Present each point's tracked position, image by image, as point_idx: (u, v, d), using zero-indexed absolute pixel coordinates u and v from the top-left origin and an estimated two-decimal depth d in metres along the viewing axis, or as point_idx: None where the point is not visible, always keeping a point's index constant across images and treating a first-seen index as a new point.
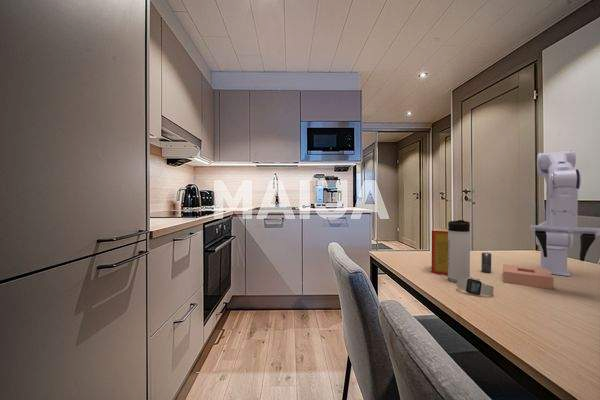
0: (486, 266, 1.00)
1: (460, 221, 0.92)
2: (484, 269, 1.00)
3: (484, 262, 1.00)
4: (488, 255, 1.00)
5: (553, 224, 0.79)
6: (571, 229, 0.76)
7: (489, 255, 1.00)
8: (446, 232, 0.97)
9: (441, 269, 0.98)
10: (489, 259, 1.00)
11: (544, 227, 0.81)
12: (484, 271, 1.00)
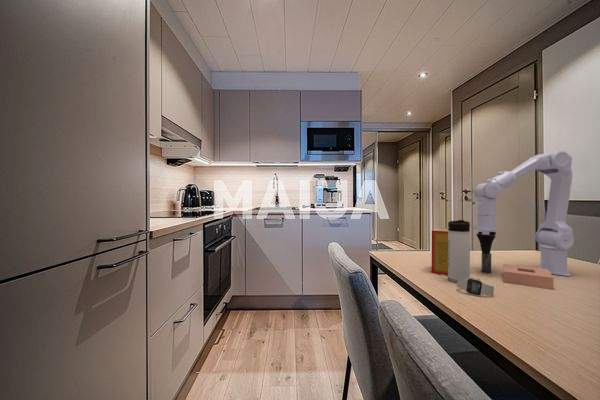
0: (486, 266, 1.00)
1: (460, 221, 0.92)
2: (484, 269, 1.00)
3: (484, 262, 1.00)
4: (488, 255, 1.00)
5: None
6: (477, 228, 1.01)
7: (489, 255, 1.00)
8: (446, 232, 0.97)
9: (441, 269, 0.98)
10: (489, 259, 1.00)
11: None
12: (484, 271, 1.00)
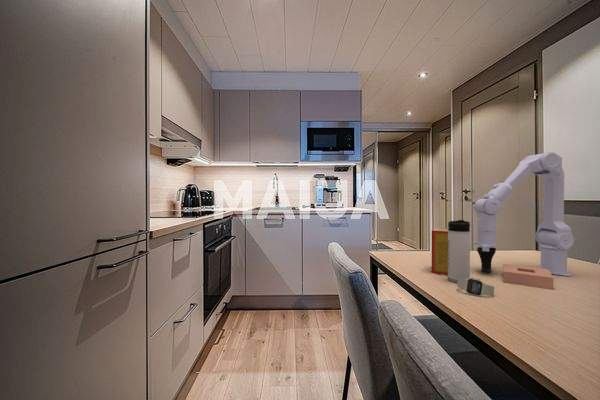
0: None
1: (460, 221, 0.92)
2: (484, 269, 1.00)
3: None
4: None
5: None
6: (477, 243, 1.02)
7: None
8: (446, 232, 0.97)
9: (441, 269, 0.98)
10: None
11: None
12: (484, 271, 1.00)
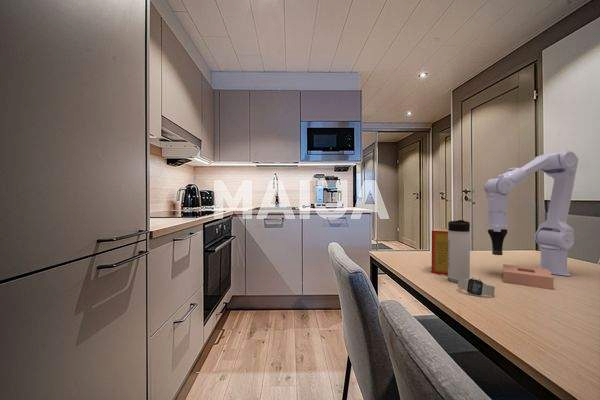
0: None
1: (460, 221, 0.92)
2: (495, 251, 0.97)
3: None
4: None
5: None
6: (488, 225, 0.98)
7: None
8: (446, 232, 0.97)
9: (441, 269, 0.98)
10: None
11: None
12: (495, 253, 0.97)
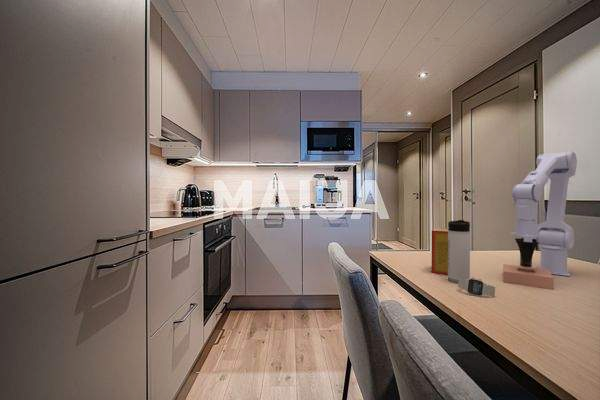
0: None
1: (460, 221, 0.92)
2: (524, 263, 0.90)
3: None
4: None
5: None
6: (516, 234, 0.91)
7: None
8: (446, 232, 0.97)
9: (441, 269, 0.98)
10: None
11: None
12: (524, 265, 0.90)
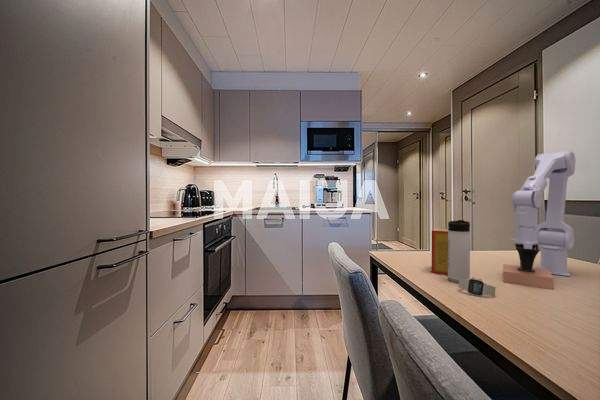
0: None
1: (460, 221, 0.92)
2: None
3: (524, 270, 0.90)
4: None
5: None
6: (515, 240, 0.91)
7: None
8: (446, 232, 0.97)
9: (441, 269, 0.98)
10: None
11: None
12: None
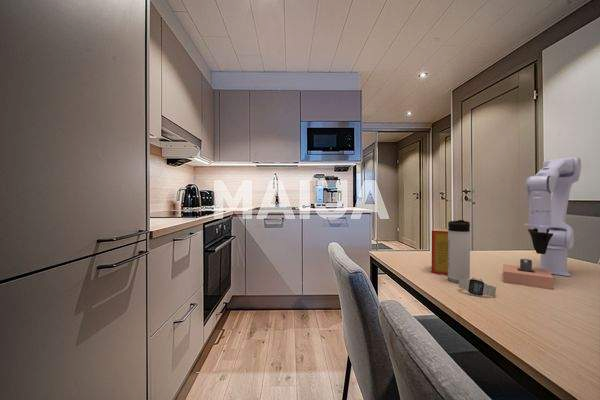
0: None
1: (460, 221, 0.92)
2: None
3: (524, 270, 0.90)
4: (528, 262, 0.89)
5: None
6: (529, 225, 0.93)
7: (530, 262, 0.89)
8: (446, 232, 0.97)
9: (441, 269, 0.98)
10: (530, 266, 0.89)
11: None
12: None
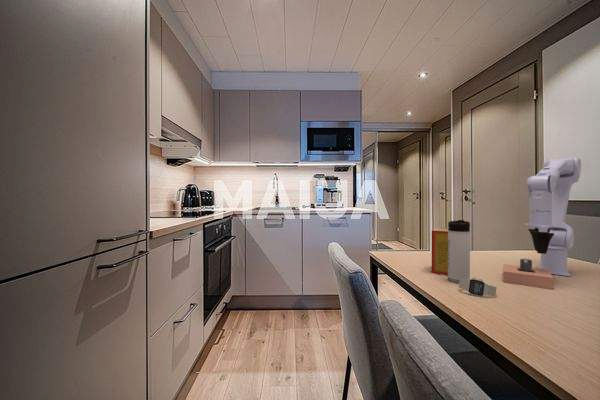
0: None
1: (460, 221, 0.92)
2: None
3: (524, 270, 0.90)
4: (528, 262, 0.89)
5: None
6: (530, 225, 0.93)
7: (530, 262, 0.89)
8: (446, 232, 0.97)
9: (441, 269, 0.98)
10: (530, 266, 0.89)
11: None
12: None
